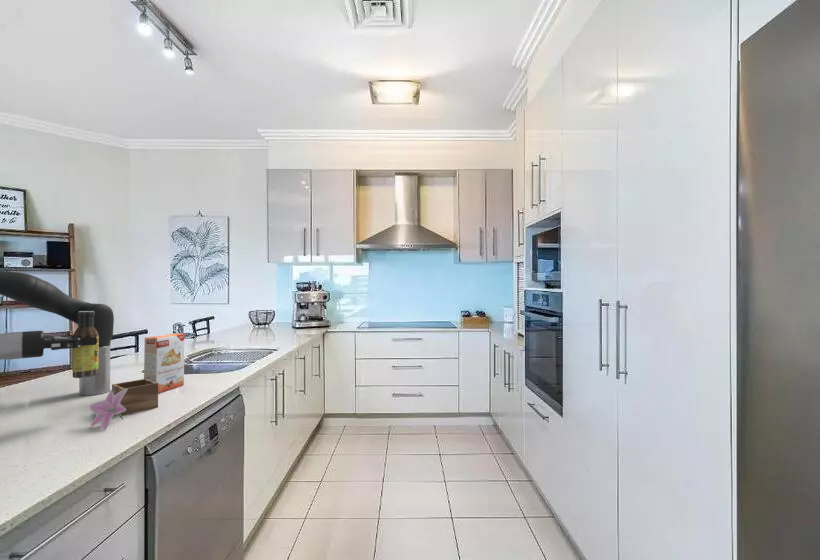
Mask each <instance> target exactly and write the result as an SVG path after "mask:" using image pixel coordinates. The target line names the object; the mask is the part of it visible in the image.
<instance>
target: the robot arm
mask: <svg viewBox="0 0 820 560" xmlns="http://www.w3.org/2000/svg"><path fill="white" fill-rule="evenodd" d="M0 295H1V296H3V297H6V298H8V299H10V300H13V301H16V302H19V303H20V304H23V305H26V306H29V307H31V308H36V309H38V310H41V311H45V312H48V313H52V314H56V315H58V316H60V317H62V318H65V319H67V320H69V321H70V322H73V323H75V324H76V325H78V316H77V315H78V312H79V311H94V312H95V315H94V328H95V329H96V330H97V332H98V335H99V355H98V357H99V363H98V374H97V375H95V376H91V377H84V378H78V394H80V396H95V394H96V395H100V394H104V393H109V392H110V390H111V340H112V339H113V335H114V324H115V323H114V322H115V318H114V317H115V316H114V310H112V308H111V307H110V306H109V305H107V304H104V303H90V302H87V301H83V300H80V299H77V298H75V297H72V296H70V295H68V294H66V293H65V292H63V290H61V289H59V288H58V287H57V286H56V285H54V284H52V283H50V282H48V281H46V280H44V279H42V278H39V277H37V276H35V275H32V274H30V273H25V272H19V271H18V272H17V271H16V272H15V271H7V270H0ZM44 337H45V336H44V330H25V331H13V332H11V331H10V332H5V333H0V360H7V361H8V360H19V359H31V358H41V357H43V356H44V349H50V350H52V351H59V350H68V349H69V350H70V349H72V348H77V347H80V346H85V345H96V344H97V338H96V337H90V338H73V334H64V335H60V334H59V335H58V334H54V335H51V336H50V337H45V338H44Z"/></svg>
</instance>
